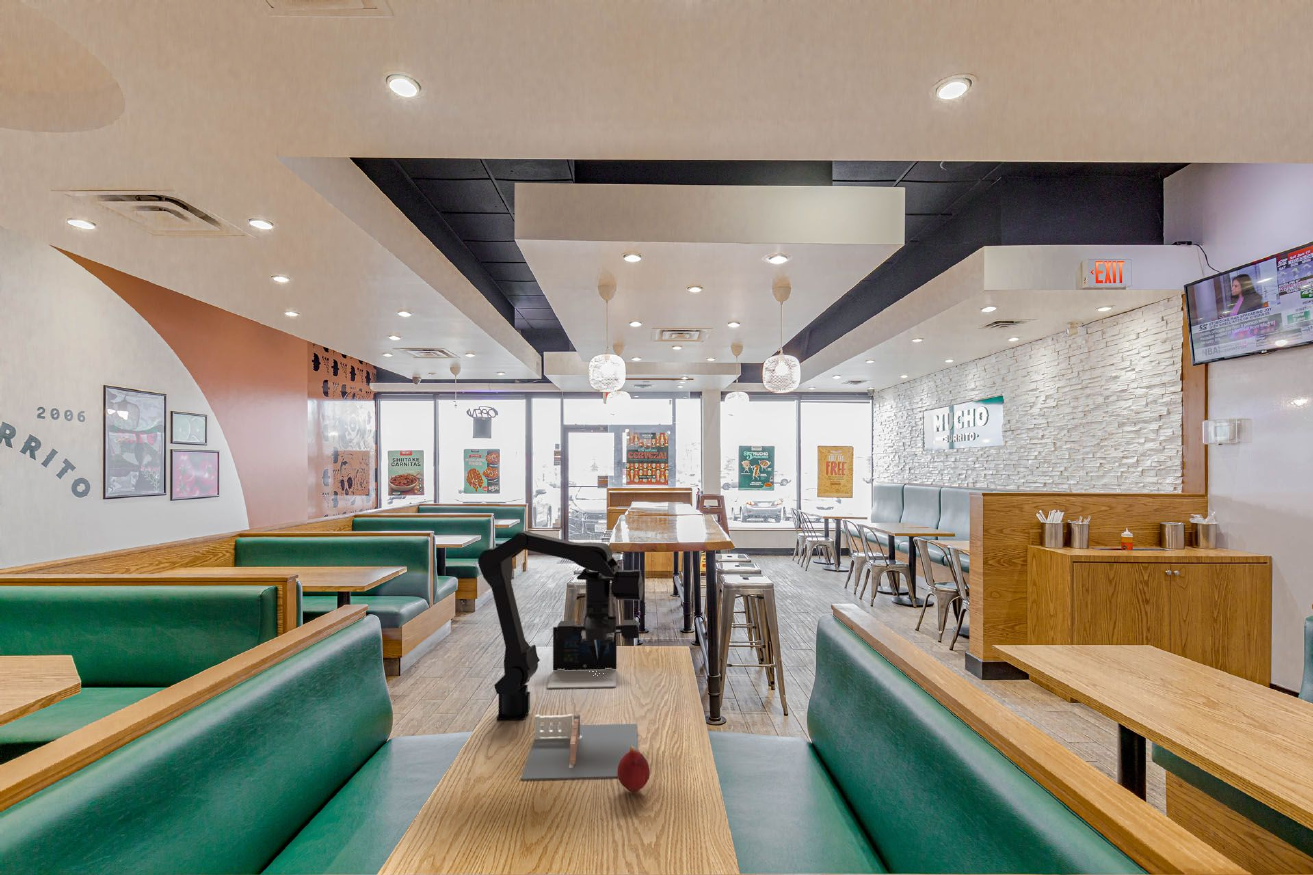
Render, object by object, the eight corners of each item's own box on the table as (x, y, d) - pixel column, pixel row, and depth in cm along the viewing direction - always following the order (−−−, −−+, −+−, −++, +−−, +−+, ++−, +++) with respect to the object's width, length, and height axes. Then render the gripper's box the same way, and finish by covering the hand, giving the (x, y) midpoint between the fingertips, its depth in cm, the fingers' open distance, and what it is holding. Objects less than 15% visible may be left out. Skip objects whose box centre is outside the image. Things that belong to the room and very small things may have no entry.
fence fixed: (534, 739, 126) (535, 716, 126) (535, 737, 127) (535, 714, 127) (571, 738, 126) (571, 715, 127) (572, 736, 127) (572, 713, 128)
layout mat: (520, 780, 111) (520, 778, 111) (538, 727, 132) (538, 725, 133) (638, 777, 112) (638, 775, 112) (637, 725, 134) (637, 723, 134)
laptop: (546, 690, 155) (546, 639, 155) (552, 673, 167) (553, 626, 168) (615, 689, 155) (615, 638, 156) (616, 671, 168) (616, 625, 168)
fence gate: (573, 735, 128) (573, 714, 128) (580, 734, 128) (580, 714, 128) (568, 766, 114) (568, 743, 115) (576, 766, 115) (576, 743, 115)
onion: (654, 786, 108) (654, 742, 109) (643, 804, 103) (643, 757, 103) (624, 781, 110) (624, 737, 110) (612, 797, 105) (612, 751, 105)
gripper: (553, 607, 129) (552, 680, 128) (639, 606, 130) (639, 679, 129) (559, 596, 140) (558, 663, 139) (638, 595, 141) (638, 661, 140)
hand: (597, 667), depth 137 cm, fingers closed
